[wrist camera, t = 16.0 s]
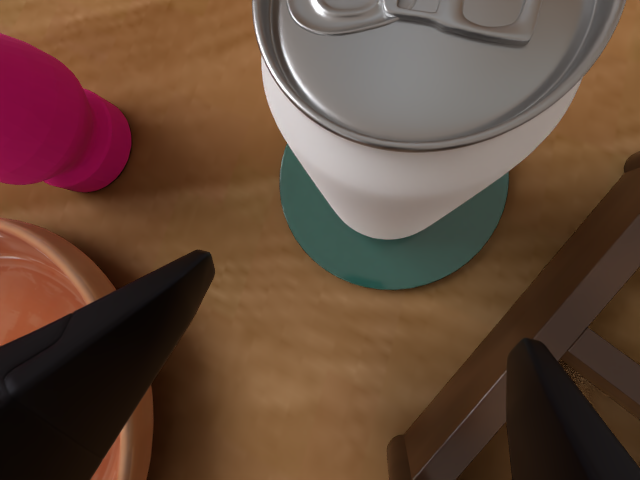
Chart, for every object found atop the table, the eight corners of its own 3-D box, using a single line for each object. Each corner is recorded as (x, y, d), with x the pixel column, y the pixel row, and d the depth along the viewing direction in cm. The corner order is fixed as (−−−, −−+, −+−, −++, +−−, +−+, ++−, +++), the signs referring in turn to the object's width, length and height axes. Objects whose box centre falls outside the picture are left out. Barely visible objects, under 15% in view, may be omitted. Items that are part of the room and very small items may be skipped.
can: (343, 112, 17) (283, -217, 5) (464, 133, 16) (718, -227, 4) (314, 224, 17) (183, 134, 5) (434, 254, 16) (613, 225, 4)
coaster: (254, 247, 18) (250, 247, 18) (321, 55, 18) (319, 49, 18) (462, 322, 16) (466, 324, 15) (535, 104, 16) (541, 97, 16)
